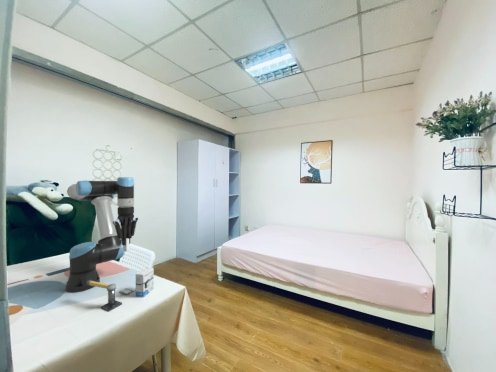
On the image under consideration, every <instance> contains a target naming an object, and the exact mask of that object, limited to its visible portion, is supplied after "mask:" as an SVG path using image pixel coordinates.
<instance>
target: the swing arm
mask: <svg viewBox="0 0 496 372" xmlns="http://www.w3.org/2000/svg"><path fill="white" fill-rule="evenodd" d="M86 283H87V286H90V285H91V286H95V287H96V288H97V287H98V288H101V289H106V292H108V291H113V290H115V291H116V289H117V284H116V283H111V284H109V283H104V282H101V281H100V282H95V281H92V280H87V281H86Z"/></svg>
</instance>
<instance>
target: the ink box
mask: <svg viewBox="0 0 496 372" xmlns="http://www.w3.org/2000/svg"><path fill="white" fill-rule="evenodd" d="M154 269H155V268H153V267H148V266H147V267H144V268H142V269H141V270H139V271H138V272H136V273H135V297H140V298H141V297H142V298H144V297H146V295H147V296H148V294H150V293H151V292H152V291H153V290H154V289H155V287H154V283H155V282H154V281H155V280H154V274H155V273H154V272H155V271H154Z"/></svg>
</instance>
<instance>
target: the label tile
mask: <svg viewBox="0 0 496 372" xmlns="http://www.w3.org/2000/svg"><path fill="white" fill-rule="evenodd" d="M134 292H135V291H134V290H132V289H128V288H125V289H122V290H121V291H119V292H118V293H119V294H121V295H124V296H126V297H127V296H128V295H130V294H131V295H132V293H134Z"/></svg>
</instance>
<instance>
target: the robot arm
mask: <svg viewBox="0 0 496 372" xmlns="http://www.w3.org/2000/svg"><path fill="white" fill-rule="evenodd" d="M66 193H67V195H68V197H69V198H71V199H73V200H76V201H84V202H85V201H91V202H90V203H91V204H92V205H94V209H95V216H96V220H97V221H96V222H97V226H98V231H99V232H98V233H99V239H98V241H97V243H96V242H95V241H86V242H82V243H80V244H76V245H74V246H73V247H71V248H70V250H69V257H68V258H69V276H68V279H67V281H66V284H65V291H66V292H67V293H78V292H85V291H87V290H90V289H92V288H95V287H96V286H91V285H90V286H87V283H86V281H87V280H92V281H95V282H100V283H101V278H100V275H99V272H98V270H97V265H98V264H103V263H107V262H111V261H116V260H118V259H121V258H123V257H124V256H125V255H124V254H125V252H129V251H130V244H131V239H132V237H133V236H134V235H135V232H136V227H137V222H138V221H139V217H136V216H135V214H134V213H135V206H134V205H135V181H134V178H133V177H127V176H123V177H122V176H121V177H119V176H118V178H117V180H78V181H77V182H76V183H73V184H71V185H70V186H68V188H67V190H66ZM115 196H117V197H116V198H117V204H116V205H117V219H114V214H113V210H112V205H111V202H113V199H114V198H115Z"/></svg>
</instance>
